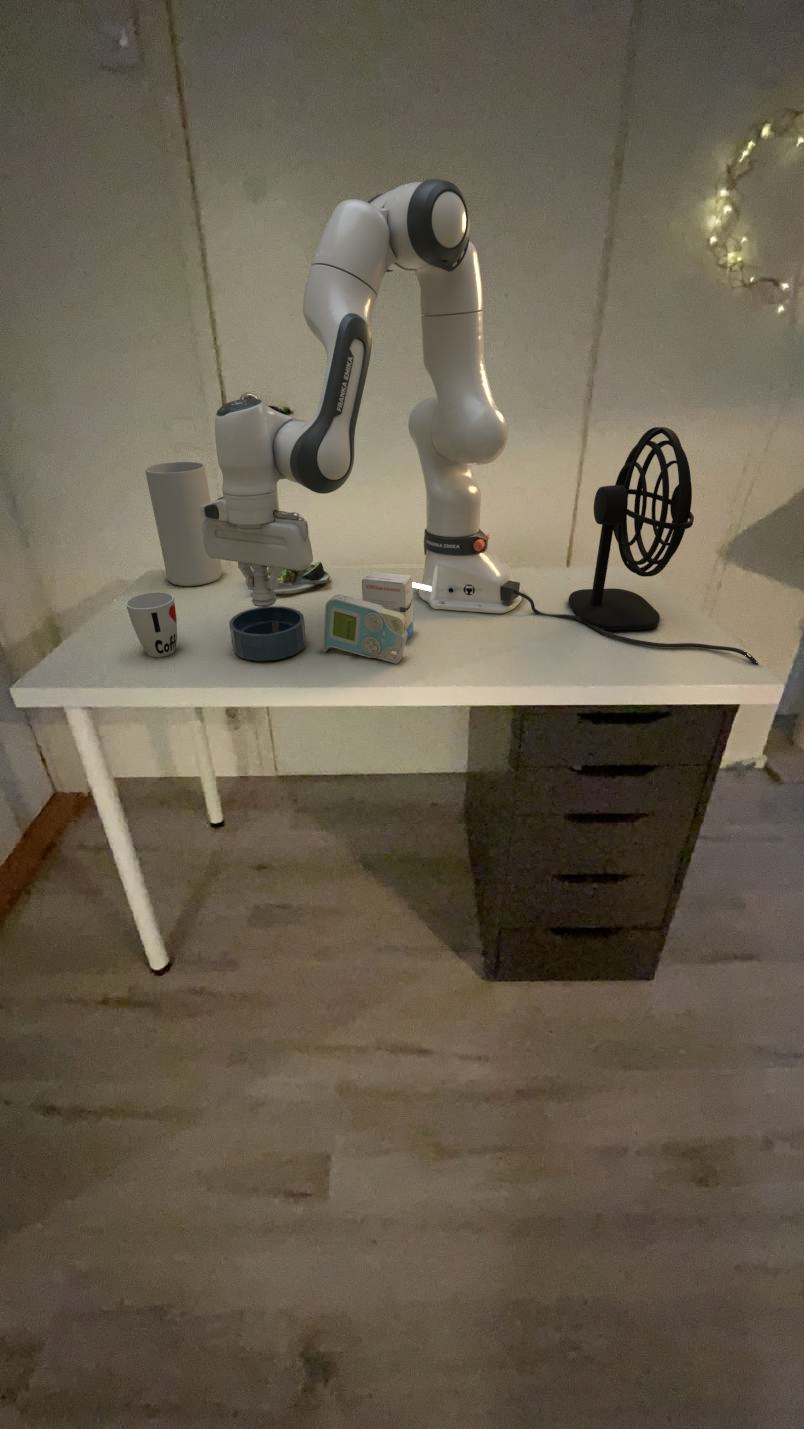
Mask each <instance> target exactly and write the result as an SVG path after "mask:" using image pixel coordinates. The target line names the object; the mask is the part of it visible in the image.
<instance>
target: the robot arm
mask: <svg viewBox="0 0 804 1429" xmlns="http://www.w3.org/2000/svg"><path fill="white" fill-rule="evenodd" d="M470 221H471V220H470V214H469V209H468V206H467V202H466V199H465V197H464V195H463V193H462V191H461V190H460V188H459V187H458V186H457V185H456V184H455V183H453V182H451V181H448V180H445V179H439V178H429V179H426V180H423V181H415V182H408V183H405V184H401V185H399V186H397V187H396V188H394V189H393V188H392V189H391V190H389V191H387V192H384V193H379V194H376V195H375V196H372V197H371V198H370V199H368V200H367V201H365V200H362V199H356V198H352V199H351V198H350V199H345V200H343V201H341V202H340V203H339V204H337V205H336V207H335V208H334V209H333V211H332V212H331V215H330V217H329V218H328V221H327V222H326V226H325V227H324V229H323V232H322V234H321V236H320V239H319V241H318V244H317V247H316V249H315V252H314V256H313V259H312V262H311V264H310V269H309V270H308V274H307V278H306V283H305V286H304V292H303V299H302V300H303V301H302V313H303V317H304V320H305V322H306V324H307V327H308V328H309V330H310V331H311V333H312V334H313V336H314V337H315V338H316V339H317V340H318V341H319V342H320V343H321V344H322V346H323V348H324V350H325V354H326V369H325V373H324V377H323V383H322V387H321V392H320V395H319V396H320V397H319V401H318V406H317V411H316V414H315V416H314V417H313V419H312V420H311V421H308V420H307V421H306V420H304V419H299V418H296V417H292V416H289V415H286V414H284V413H282V412H280V411H277V410H275V409H273V408H272V407H270V406H268V405H267V404H265V403H264V401H263V400H262V399H260V398H254V397H250V398H242V399H240V398H239V399H236V400H232V401H229V402H227V403H225V404H223V405H222V406H220V407H219V408H218V409H217V411H216V413H215V418H214V440H215V448H216V458H217V463H218V467H219V469H220V471H221V474H222V486H221V488H222V489H221V490H222V496H221V497H218V498H217V499H215V500H210V501H211V502H209V503H206V504H204V505H202V506H201V507H200V513H201V516H202V517H203V518H204V521H203V523H202V536H203V543H204V548H205V551H206V553H207V554H208V556H209V557H210V558H215V559H220V560H223V561H230V562H236V563H237V567H238V569H239V571H240V572H241V573H242V576H243V577H244V578H245V584H246V587H248V586H249V587H254V575H253V569H252V568H251V566H250V565H251V564H256V565H263V566H268V567H267V569H268V570H269V572H272V573H271V576H270V578H268V579H266V580H265V584H266V589H268V590H276V589H277V588H278V580H277V578H278V577H279V575H280V573H281V570H282V568H284V569H291V570H298V571H301V570H304V569H305V568H307V567H309V566H310V565H312V563H313V562H314V554H313V548H312V542H311V539H310V535H309V524H308V521H307V520H306V519H305V518H304V517H303V516H301V514H299V513H298V512H295V511H294V512H292V511H291V512H289V511H285V510H284V511H283V510H280V501H279V493H278V482H279V481H280V480H285V479H286V480H288V481H290V482H293V483H296V484H298V485H301V486H303V487H304V488H306V489H308V490H310V491H311V492H313V493H316V494H322V495H324V494H330V493H333V492H335V491H337V490H339V489H340V488H342V486H343V485H344V484H345V483H346V482H347V481H348V479H349V477H350V475H351V473H352V471H353V468H354V464H355V435H356V434H355V433H356V427H357V424H358V422H357V421H358V417H359V414H360V408H361V403H362V399H363V396H364V395H363V394H364V390H365V385H366V381H367V376H368V371H369V366H370V361H371V356H372V346H373V338H372V336H373V335H372V332H371V327H372V321H373V315H374V311H375V307H376V304H377V300H378V298H379V294H380V290H381V286H382V283H383V279H384V276H385V275H386V273H391V272H395V271H396V272H411V271H413V272H414V274H415V276H416V278H417V282H418V284H419V288H420V298H419V300H420V302H419V303H420V323H421V344H422V360H423V366H424V368H425V371H426V373H427V374H428V375H429V377H430V379H431V381H432V384H433V387H434V391H435V394H436V396H431V397H428V398H424V399H422V400H420V401H419V402H417V403H416V404H415V405H414V407H413V408H412V410H411V412H410V414H409V417H408V427H407V428H408V433H409V436H410V438H411V440H412V441H413V443H414V445H415V448H416V450H417V454H418V459H419V462H420V466H421V471H422V476H423V481H424V486H425V487H424V488H425V498H426V502H425V504H426V505H425V506H426V508H425V509H426V510H425V511H426V512H425V513H426V528H424V536H423V553H424V566H423V573H422V579H421V582H420V583H417V582H413V581H412V588H414V589H419V590H418V596H419V597H420V598H421V599H422V600H423V601H425V602H427V603H428V604H429V605H430V607H431V608H432V609H435V610H444V611H445V610H446V611H458V612H471V613H472V612H473V613H475V612H476V613H487V614H505V613H508V612H510V611H512V610H514V609H515V608H517V607H518V605H519V604H520V603H521V601H522V599H523V598H524V599H525V600H527V601H528V602H529V603H530V607H531V611H532V612H533V613H535V614H536V615H538V616H544V617H551V618H559V619H560V618H561V619H572V620H576V621H579V622H581V623H583V624H585V625H587V626H589V627H590V628H591V629H593V630H594V631H597V632H598V633H600V634H602V635H604V636H607V637H610V638H613V639H616V640H619V641H623V642H627V643H631V644H635V645H642V646H646V647H647V646H648V647H655V648H700V649H706V650H715V651H727V652H732V653H737V654H740V655H742V656H744V657H745V658H747V659H748V660H749V661H750V662H751V663H752V664H753V665H755V666H759V662H758V661H757V660H756V658H755V657H754V656H753V655H752V654H750V653H748V652H747V651H745V650H743V649H741V648H738V647H733V646H723V645H712V644H706V643H694V642H683V643H682V642H680V643H679V642H676V643H675V642H674V643H667V642H666V643H664V642H663V643H662V642H653V641H645V640H640V639H635V638H630V637H626V636H622V635H619V634H615V633H613V632H610V631H608V630H604V629H600V628H599V627H597V626H594V625H588V624H587V623H585V622H583V621H582V619H581V618H580V617H579V616H578V615H574V614H565V613H563V614H552V613H551V614H549V613H544V612H542V611H539V610H538V609H536V606H535V601H534V600H533V598H531V597H530V596H529V595H527V594H526V593H523V591H522V590H521V588H520V586H521V582H519V581H514V580H513V575H512V570H511V568H510V567H509V566H508V565H507V564H506V563H505V562H504V561H502V559H500V558H499V557H498V556H497V555H496V554H495V553H493V552H492V551H491V550H490V549H489V548H488V546H489V539H490V532H488V533H487V534H486V533H485V532H483V531H482V530H481V528H480V522H481V501H482V492H481V489H480V486H479V485H478V483H477V480H476V479H475V476H474V473H473V470H472V466H482V465H488V464H491V463H492V462H494V461H496V460H497V459H498V458H499V457H500V456H501V455H502V454H503V452H504V450H505V448H506V445H507V444H508V437H509V428H508V427H509V426H508V423H507V421H506V419H505V417H504V416H503V414H502V412H501V411H500V409H499V408H498V406H497V404H496V401H495V399H494V395H493V391H492V388H491V384H490V380H489V377H488V372H487V366H486V359H485V341H484V340H485V338H484V297H483V283H482V275H481V267H480V262H479V256H478V251H477V249H476V247H475V244H474V243H472V241H470V237H471V231H470V230H471V222H470ZM744 651H745V652H744ZM747 653H748V654H749V655H750V656H751V657H749V656H748V655H747ZM745 655H746V656H745ZM756 662H757V663H756Z"/></svg>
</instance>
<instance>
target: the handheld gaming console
mask: <svg viewBox="0 0 804 1429" xmlns="http://www.w3.org/2000/svg"><path fill="white" fill-rule="evenodd" d="M323 624H324V625H323V641H322V642H323V643H322V652H323V653H327V652H328V651H329V650H330V649H331V648H334V649H339V650H342V651H344V652H349V653H351V654H355V655H357V656H358V655H359V656H363V657H365V658H371V659H373V658H375V659H378V660H381V661H386V662H389V663H392V664H399V663H400V661H401V660H402V658H403V657H404V648H405V645H406V643H407V642H408V640H407V634H408V633H407V631H406V627H407V620H406V618H405V616H404V615H403V614H401V613H399V612H396V611H392V610H389V609H385V608H384V607H382V606H381V605H378V604H375V603H371V602H367V601H363V599H359V598H356V597H352V596H348V595H345V594H336V595H333V596H332V597H331V598H330V599H328V600H327V602H325V607H324V623H323ZM392 652H395V653H392Z"/></svg>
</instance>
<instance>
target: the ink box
mask: <svg viewBox="0 0 804 1429" xmlns="http://www.w3.org/2000/svg"><path fill="white" fill-rule="evenodd" d="M412 582H413V575H407V574H399V573H389V572H388V573H387V572H380V571H370V572H368V574H366V575H365V576H364V577H363V578H362V579H361V596H362V600H363V601H367V602H371V603H375V604H378V605H381V606H382V607H384V608H385V609H389V610H392V611H396V612H399V613H401V614H403V615H404V616H405V618H406V620H407V627H406V631H407V633H408V634H407V641H408V640H410V638H411V637H412V635H413V634H414V610H413V609H414V608H413V606H414V604H413V603H414V602H413V598H414V597H413V587H412Z"/></svg>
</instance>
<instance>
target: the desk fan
mask: <svg viewBox="0 0 804 1429" xmlns="http://www.w3.org/2000/svg"><path fill="white" fill-rule="evenodd" d="M660 434H662V435H663V436H664V437H665V438H666V439H667V440H661V441H659V442H655V441H653V439H654V438H655V437H657V436H658V435H660ZM681 443H682V442H681V440H680V438H679V437H678V435H677V433H675V431H674V430H672V429H670V428H669V427H665V426H655V427H651V428H650V429H648V430H647V431H645V433H643V435H642V436H641V437H640V439H639V440H638V442H637V443H636V445H635V446H633V448H631V451H630V452H629V454H628V456H627V457H626V460H625V462H624V465H623V466H622V468H621V469H620V471H619V473H618V475H617V478H616V481H615V484H613V485H603V486H600V487H599V488H598V489H597V490H596V492H595V496H594V499H593V500H594V501H593V517H594V521H595V522H596V524H597V525H601V530H600V535H599V536H600V538H599V543H598V550H597V556H596V562H595V569H594V570H595V571H594V576H593V583H592V588H587V589H586V588H585V589H578V590H575V591H573V592H571V593H570V594H569V596H568V605H569V606H570V607H571V608H572V610H573V611H574V612H575V614H576V616H578V617H580V618H581V619H582V621H583V622H585V623H587V624H588V625H587V624H586V625H587V626H589V625H594V626H597V627H599V628H600V629H602V630H605V631H635V630H636V631H638V630H649V629H653V628H655V627H657V626H658V625H659V624H660V620H661V615H660V614H659V612H658V610H657V609H655V608H654V606H652V605H651V604H650V603H649V602H648V601H647V600H646V599H645V598H644V597H643V596H641V595H640V594H638V593H636V592H633V591H631V590H626V589H622V588H615V587H614V588H612V587H611V588H605V585H606V578H607V573H608V565H609V559H610V553H611V548H612V547H611V546H612V540H613V536H614V538H615V540H616V542H617V545H618V551H619V555H620V559H621V561H622V562H623V565H624V566H625V567H626V569H628V571H630V572H631V573H633V574H636V575H637V576H639V577H644V578H645V577H646V578H647V577H648V578H649V577H654V576H657V575H658V574H660V573H661V572H662V571H664V569H665V568H666V567H667V565H668V564H669V562H670V561H671V559H672V557H673V556H674V555H675V553H676V552H677V550H678V548H679V547H680V545H681V543H682V540H683V538H684V534H685V532H686V530H687V529H690V528H691V527H693V524H694V520H695V517H694V514H693V513H692V511H691V509H692V503H693V502H692V501H693V486H692V477H691V469H690V464H689V460H688V457H687V454H686V452H685V450H684V448H683V447H682V444H681ZM667 445H668V446H670V447H671V448H672V450H673V453H674V456H675V460H671V461H669V462H667V460H666V456H665V454H664V451H663V449H662V448H663V447H665V446H667ZM646 446H648V447H650V448H651V450H650V451H649V453H648V454H647V456H646V458H645V460H644V463H643V464H642V465H641V464H640V463H639V462H638V459H639V457H640V456H641V454H642V452H643V450H644V449H645V447H646ZM655 456H656V458H657V460H658V464H659V467H660V468H659V469H660V473H659V474H658V477H657V479H656V481H655V485H654V489H653V492H651V491H648V488H647V479H646V475H647V472H648V469H649V467H650V464H651V463H652V461H653V459H654V457H655ZM675 464H676V466H677V474H678V475H677V476H678V477H677V478H678V484H677V485H676V486H675V488H674V490H673V492H672V494H671V498H670V477H669V468H670V467H671V466H672V465H675ZM635 469H637V471H638V474H639V476H638V479H637V485H636V488H630V487H631V482H632V477H633V473H634V470H635ZM661 484H662V485H661ZM660 485H661V486H662V493H661V494H662V495H661V494H658V492H659V488H660ZM629 495H633V496H634V497H635V498H634V506H633V511H632V510H630V509H629V508H628V505H629ZM641 498H642V499H641ZM648 498H650V499H652V500H651V512H650V514H651V518H650V517H647V516H646V513H647V504H648ZM641 500H642V502H641ZM657 501H659V502H661V509H660V517H659V520H657V518H656V516H657V514H656V508H657V507H656V505H657ZM669 507H670V508H669ZM640 508H641V509H640ZM640 510H641V512H640ZM669 511H670V516H671V522H667V519H668V518H667V517H668V512H669ZM628 517H630V518H632V519H633V526H634V535H633V537H632V538H631V540H629V532H628V521H627V520H628ZM644 524H646V525H650V526H652V530H653V533H654V539H653V540H652V544H651V546H650V547H649V550H648V551H647V549H646V547H645V544H644V542H643V537H642V530H643V526H644ZM665 529H666V530H668V532H667V534H666V536H665V538H664V539H663V535H664V531H665ZM635 543H636V544H637V549H638V550H639V553H640V554H641V556H642V558H641V559H639V560H635V558H634V555H633V552H632V549H631V546H633V544H635ZM660 544H661V546H660V548H659V550H658V551H657V549H658V547H659V545H660ZM665 549H666V550H665ZM656 551H657V553H656ZM664 551H665V552H664ZM655 553H656V554H655ZM663 553H664V554H663ZM662 554H663V556H662ZM654 555H655V556H654ZM661 556H662V557H661ZM652 557H653V558H652ZM660 557H661V558H660ZM646 563H647V564H646ZM644 564H645V565H644ZM642 565H643V566H642ZM654 565H655V567H653V566H654ZM651 568H653V569H651ZM650 569H651V570H650ZM583 622H582V623H583ZM585 623H584V624H585Z"/></svg>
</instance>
